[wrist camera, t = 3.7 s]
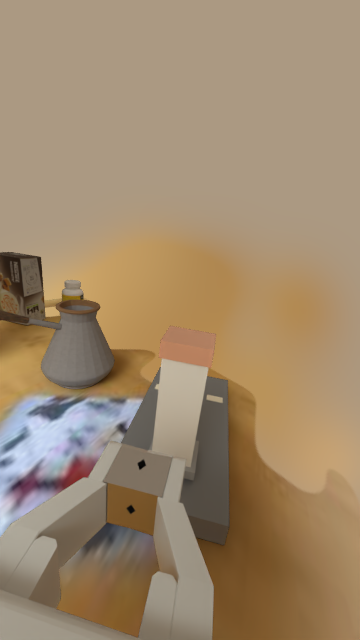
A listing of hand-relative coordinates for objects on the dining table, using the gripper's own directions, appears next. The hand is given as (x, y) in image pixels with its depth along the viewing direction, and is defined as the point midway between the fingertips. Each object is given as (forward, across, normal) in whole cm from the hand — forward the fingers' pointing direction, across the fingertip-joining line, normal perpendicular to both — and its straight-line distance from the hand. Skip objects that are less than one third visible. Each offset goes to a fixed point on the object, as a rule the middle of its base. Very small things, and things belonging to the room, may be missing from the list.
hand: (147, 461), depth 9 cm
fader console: (+20, 0, +17) cm, 26 cm away
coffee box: (+45, +46, +16) cm, 67 cm away
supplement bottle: (+53, +37, +16) cm, 67 cm away
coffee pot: (+23, +22, +17) cm, 36 cm away
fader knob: (+13, 0, +14) cm, 19 cm away
